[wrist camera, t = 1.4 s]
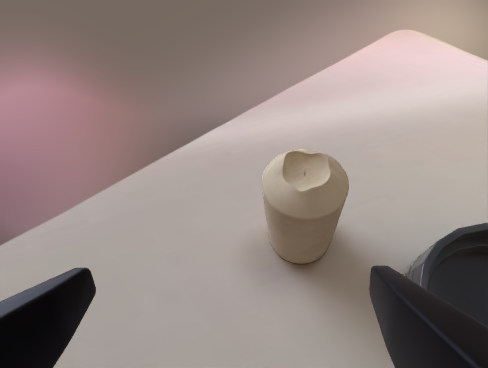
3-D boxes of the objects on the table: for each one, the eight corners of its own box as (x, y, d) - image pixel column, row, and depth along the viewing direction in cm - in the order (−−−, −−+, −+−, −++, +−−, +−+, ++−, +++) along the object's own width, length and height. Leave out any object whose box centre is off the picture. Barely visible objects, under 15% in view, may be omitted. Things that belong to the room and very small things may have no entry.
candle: (257, 228, 25) (242, 161, 17) (303, 198, 26) (310, 122, 18) (293, 277, 22) (298, 224, 14) (343, 241, 23) (375, 173, 15)
